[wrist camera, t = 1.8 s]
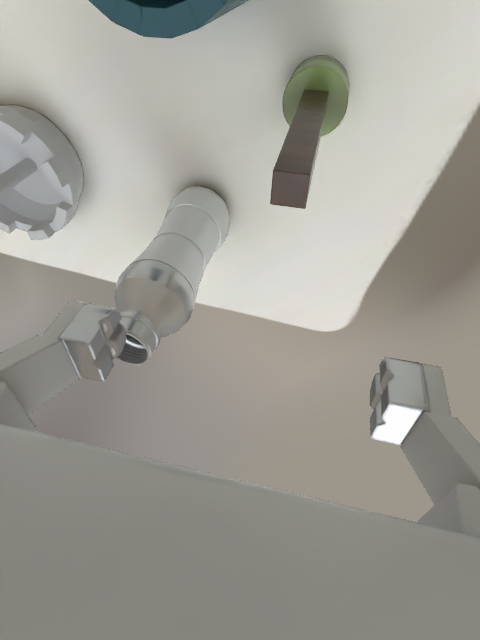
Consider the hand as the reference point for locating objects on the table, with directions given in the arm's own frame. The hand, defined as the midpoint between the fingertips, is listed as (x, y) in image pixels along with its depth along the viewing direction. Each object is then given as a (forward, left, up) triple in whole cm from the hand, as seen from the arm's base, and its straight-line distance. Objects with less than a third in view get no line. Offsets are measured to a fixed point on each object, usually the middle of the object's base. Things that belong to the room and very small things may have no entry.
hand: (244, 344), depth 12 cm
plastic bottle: (+12, -10, -28) cm, 32 cm away
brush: (0, 0, -28) cm, 28 cm away
